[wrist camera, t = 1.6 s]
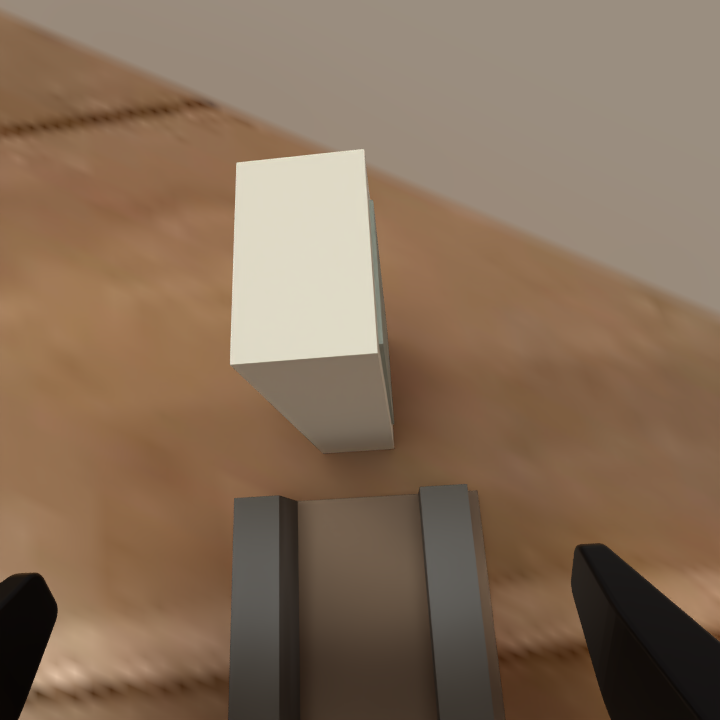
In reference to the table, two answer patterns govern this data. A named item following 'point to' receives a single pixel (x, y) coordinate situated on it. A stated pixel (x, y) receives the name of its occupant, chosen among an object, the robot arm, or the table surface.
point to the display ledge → (362, 609)
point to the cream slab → (312, 298)
